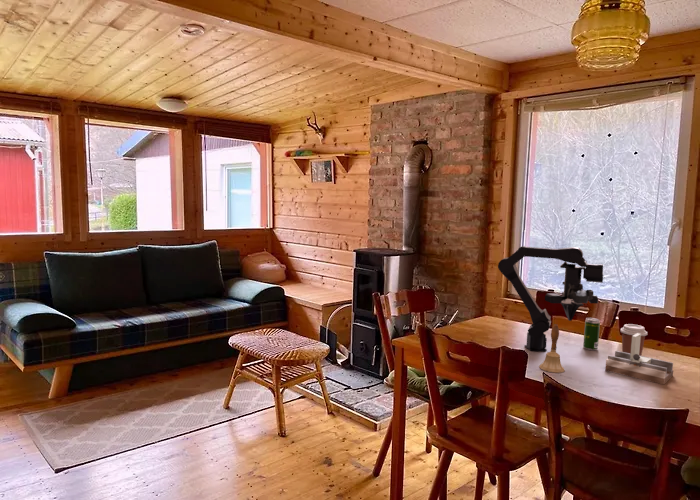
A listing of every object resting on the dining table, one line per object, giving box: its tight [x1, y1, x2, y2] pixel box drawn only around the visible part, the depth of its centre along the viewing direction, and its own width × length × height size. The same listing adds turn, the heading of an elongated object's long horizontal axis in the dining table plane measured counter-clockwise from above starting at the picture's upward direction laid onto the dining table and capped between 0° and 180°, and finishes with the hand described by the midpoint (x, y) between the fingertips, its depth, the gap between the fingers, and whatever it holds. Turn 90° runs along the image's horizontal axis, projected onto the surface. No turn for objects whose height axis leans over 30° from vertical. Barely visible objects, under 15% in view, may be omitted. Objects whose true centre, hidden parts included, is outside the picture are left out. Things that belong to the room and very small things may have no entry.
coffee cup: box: [620, 323, 648, 356], centre depth 196 cm, size 9×9×12 cm
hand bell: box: [538, 323, 565, 374], centre depth 180 cm, size 8×8×16 cm
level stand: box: [604, 350, 674, 385], centre depth 179 cm, size 18×12×5 cm, turn 46°
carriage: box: [630, 333, 651, 364], centre depth 177 cm, size 5×9×11 cm, turn 136°
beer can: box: [582, 317, 601, 351], centre depth 206 cm, size 5×5×12 cm
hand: (569, 320), depth 198 cm, fingers closed
